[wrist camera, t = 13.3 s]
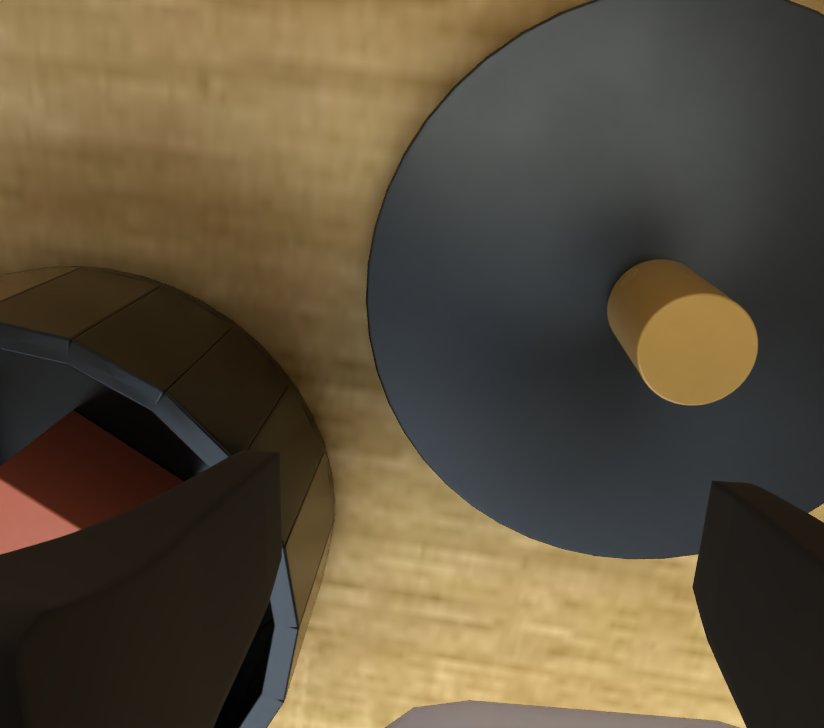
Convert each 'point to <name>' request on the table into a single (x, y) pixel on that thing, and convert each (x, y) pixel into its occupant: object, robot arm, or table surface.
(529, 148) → the tin lid
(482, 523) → the table surface
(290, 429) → the tin
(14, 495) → the block
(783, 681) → the robot arm
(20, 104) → the table surface
